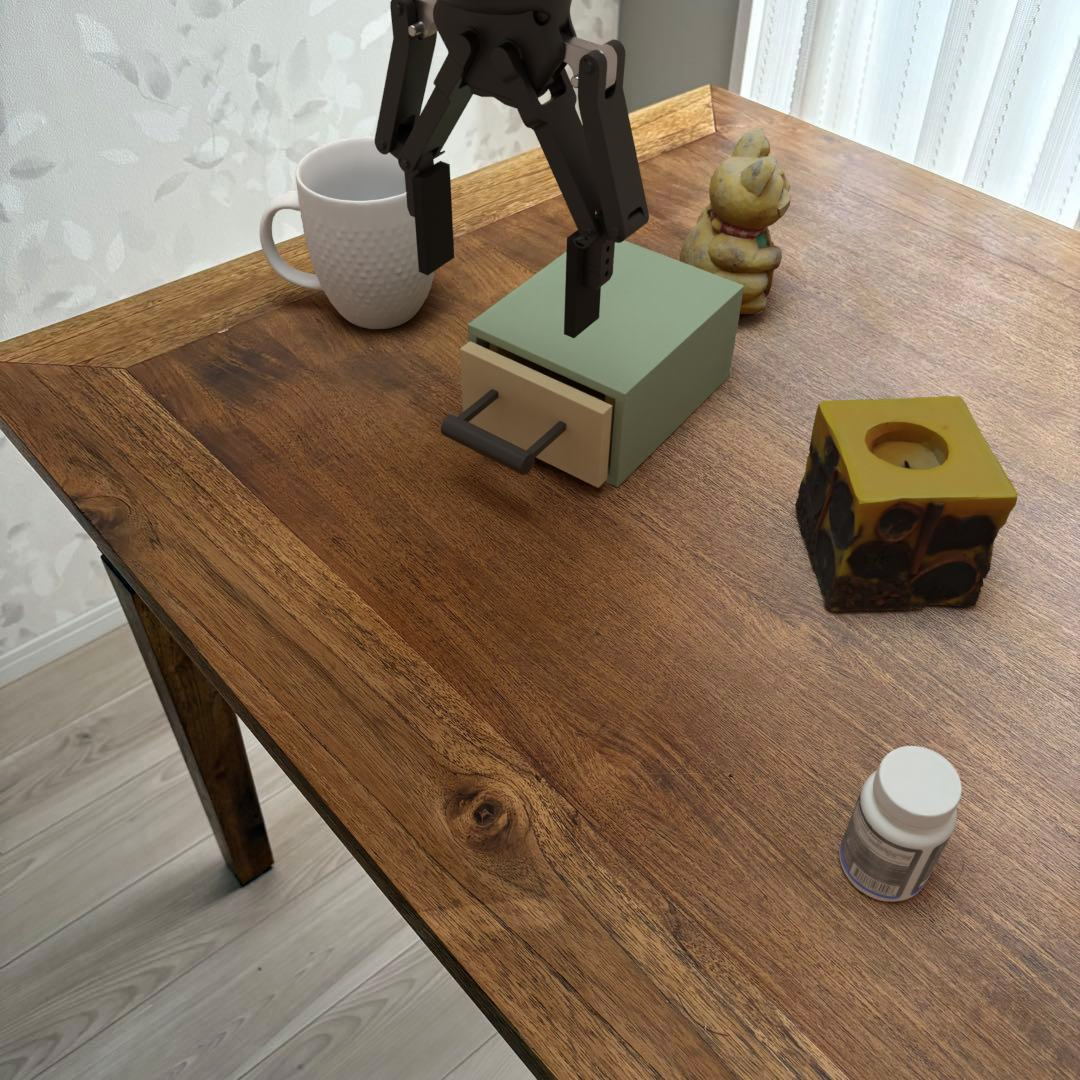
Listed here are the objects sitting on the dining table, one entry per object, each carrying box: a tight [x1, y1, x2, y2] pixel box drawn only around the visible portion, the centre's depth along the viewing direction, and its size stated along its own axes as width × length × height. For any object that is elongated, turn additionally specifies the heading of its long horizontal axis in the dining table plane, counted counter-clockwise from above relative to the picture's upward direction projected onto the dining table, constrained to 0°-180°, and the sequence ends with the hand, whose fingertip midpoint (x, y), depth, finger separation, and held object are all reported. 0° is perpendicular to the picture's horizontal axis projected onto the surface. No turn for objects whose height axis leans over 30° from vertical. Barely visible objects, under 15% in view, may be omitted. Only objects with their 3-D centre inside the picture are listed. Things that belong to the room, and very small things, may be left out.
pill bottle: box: [838, 745, 963, 903], centre depth 57 cm, size 5×5×8 cm
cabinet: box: [467, 239, 744, 488], centre depth 85 cm, size 17×14×9 cm
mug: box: [258, 135, 436, 330], centre depth 92 cm, size 15×11×13 cm
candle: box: [794, 395, 1019, 612], centre depth 73 cm, size 10×10×10 cm
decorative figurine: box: [679, 127, 792, 315], centre depth 93 cm, size 10×8×15 cm
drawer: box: [440, 341, 615, 488], centre depth 82 cm, size 21×12×7 cm, turn 144°
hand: (506, 294), depth 70 cm, fingers open, 11 cm apart
